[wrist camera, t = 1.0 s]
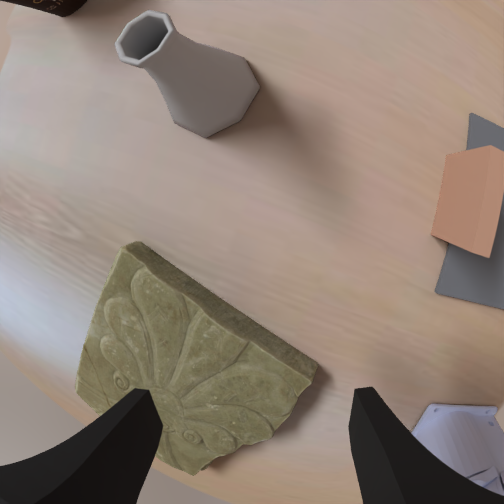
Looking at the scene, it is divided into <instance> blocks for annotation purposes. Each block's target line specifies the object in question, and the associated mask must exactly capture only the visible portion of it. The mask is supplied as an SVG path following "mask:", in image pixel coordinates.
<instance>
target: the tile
mask: <svg viewBox="0 0 504 504" xmlns="http://www.w3.org/2000/svg"><path fill="white" fill-rule="evenodd" d="M503 193H504V151H502V150H500V149H498V148H496V147H494V146H492V145H488V146H484V147H479V148H475V149H471V150H466V151H462V152H458V153H453V154H449V155H446V160H445V167H444V173H443V179H442V184H441V190H440V195H439V200H438V205H437V210H436V214H435V219H434V223H433V227H432V231H431V235H433V236H435V237H437V238H440V239H442V240H444V241H447V242H449V243H451V244H454V245H456V246H458V247H460V248H463V249H465V250H467V251H469V252H472V253H475V254H478V255H481V256H484V257H487V258H489V257H490V254H491V250H492V246H493V242H494V238H495V234H496V229H497V225H498V220H499V215H500V210H501V205H502V199H503Z"/></svg>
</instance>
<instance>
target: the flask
mask: <svg viewBox="0 0 504 504" xmlns="http://www.w3.org/2000/svg"><path fill="white" fill-rule="evenodd" d="M115 47H116V50H117V54H118V57H119V60H120V61H121V62H123V63H126V64H130V65H133V66H136V67H139V68H144V69H145V70H146V71H147V72H148V73H149V75H150V76H151V77H152V78H153V79H154V80H155V81H156V83H157V85H158V87H159V89H160V91H161V93H162V95H163V97H164V99H165V101H166V104H167V106H168V109H169V111H170V114H171V116H172V118H173V121H174V123H175V124H177V125H179V126H181V127H184V128H186V129H188V130H190V131H192V132H194V133H196V134H198V135H200V136H202V137H204V138H207V137H209V136H211V135H212V134H214V133H216V132H218V131H220V130H222V129H224V128H226V127H228V126H230V125H232V124H234V123H237V122H239V121H241V119H242V117H243V116H244V114H245V112H246V110H247V109H248V107H249V105H250V104H251V102H252V100H253V98H254V97H255V95H256V93H257V92H258V90H259V88H260V86H259V84H258V82H257V81H256V79H255V77H254V75H253V73H252V71H251V69H250V67H249V65H248V64H247V62H246V60H245V58H244V57H241V56H238V55H236V54H233V53H230V52H227V51H225V50H222V49H219V48H216V47H213V46H210V45H206V44H201V43H196V42H194V41H192V40H190V39H189V38H187V37H185V36H183V35H181V34H180V33H179V32H178V31H177V30H176V28H175V26H174V24H173V22H172V20H171V18H170V16H169V15H168V14H167V13H163V12H158V11H152V10H147V11H145V12H144V13H142V14H141V15H139V16H138V17H136V18H135V19H133V20H132V21H130V22H129V23H127V25H126V26H125V28H124V29H123V31H122V33H121V34H120V36H119V37H118V39H117V41H116V42H115Z"/></svg>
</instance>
